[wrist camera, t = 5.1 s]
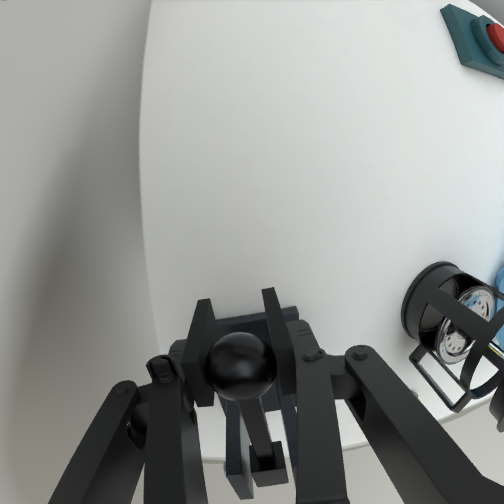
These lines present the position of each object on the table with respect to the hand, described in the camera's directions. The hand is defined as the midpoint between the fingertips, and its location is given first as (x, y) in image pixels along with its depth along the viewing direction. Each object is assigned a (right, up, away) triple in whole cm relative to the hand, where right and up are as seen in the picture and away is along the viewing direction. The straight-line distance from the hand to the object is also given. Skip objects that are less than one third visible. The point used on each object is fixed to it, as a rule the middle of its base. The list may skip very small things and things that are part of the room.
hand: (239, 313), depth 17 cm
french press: (+21, -2, +9) cm, 23 cm away
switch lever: (+1, -5, -3) cm, 6 cm away
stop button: (+29, +29, -3) cm, 41 cm away
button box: (+29, +30, +1) cm, 42 cm away
